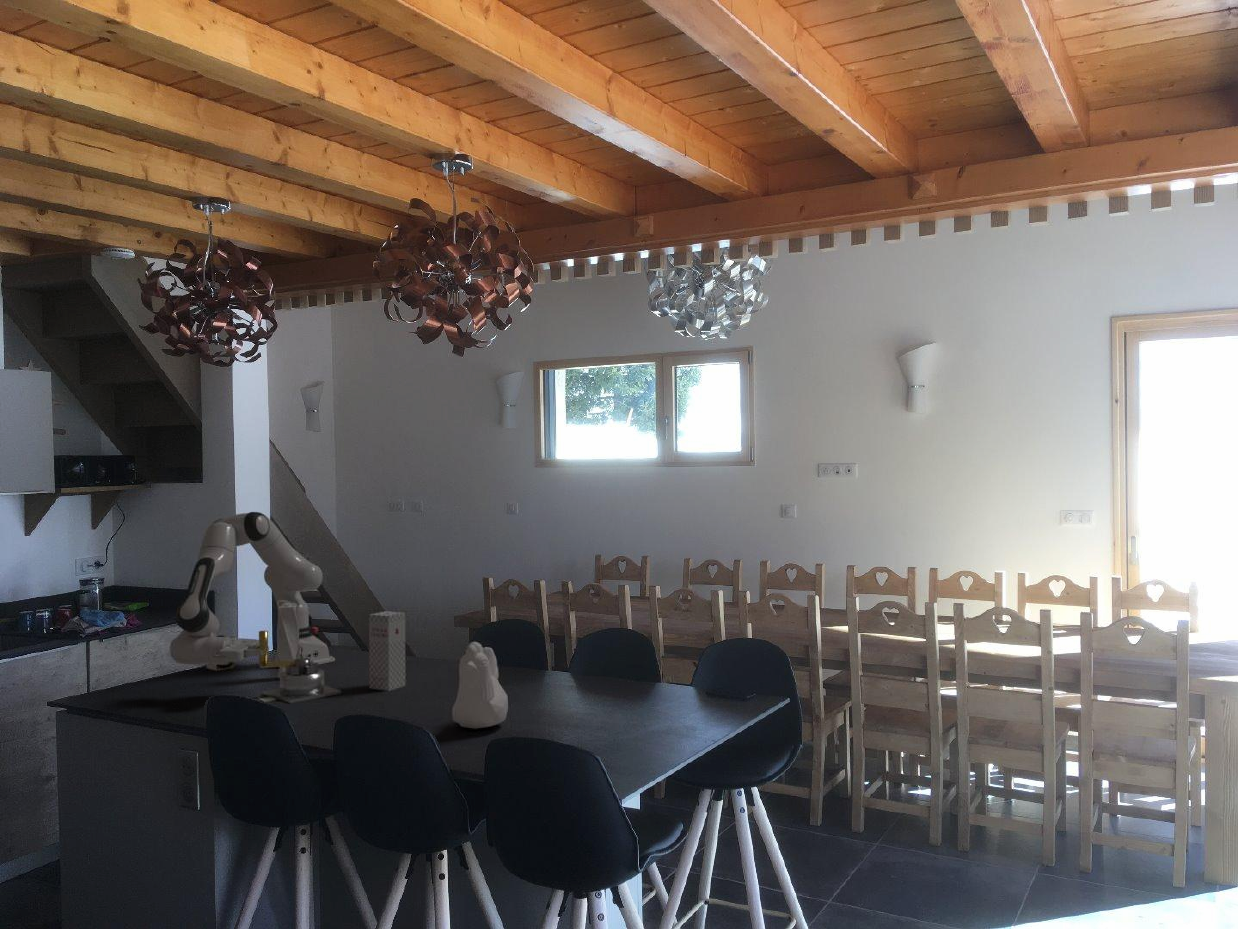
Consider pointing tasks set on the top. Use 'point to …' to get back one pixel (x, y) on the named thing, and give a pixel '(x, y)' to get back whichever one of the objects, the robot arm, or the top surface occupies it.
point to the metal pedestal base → (301, 687)
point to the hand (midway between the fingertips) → (265, 650)
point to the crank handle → (291, 665)
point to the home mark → (267, 699)
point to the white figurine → (479, 690)
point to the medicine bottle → (221, 667)
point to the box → (386, 650)
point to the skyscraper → (287, 634)
